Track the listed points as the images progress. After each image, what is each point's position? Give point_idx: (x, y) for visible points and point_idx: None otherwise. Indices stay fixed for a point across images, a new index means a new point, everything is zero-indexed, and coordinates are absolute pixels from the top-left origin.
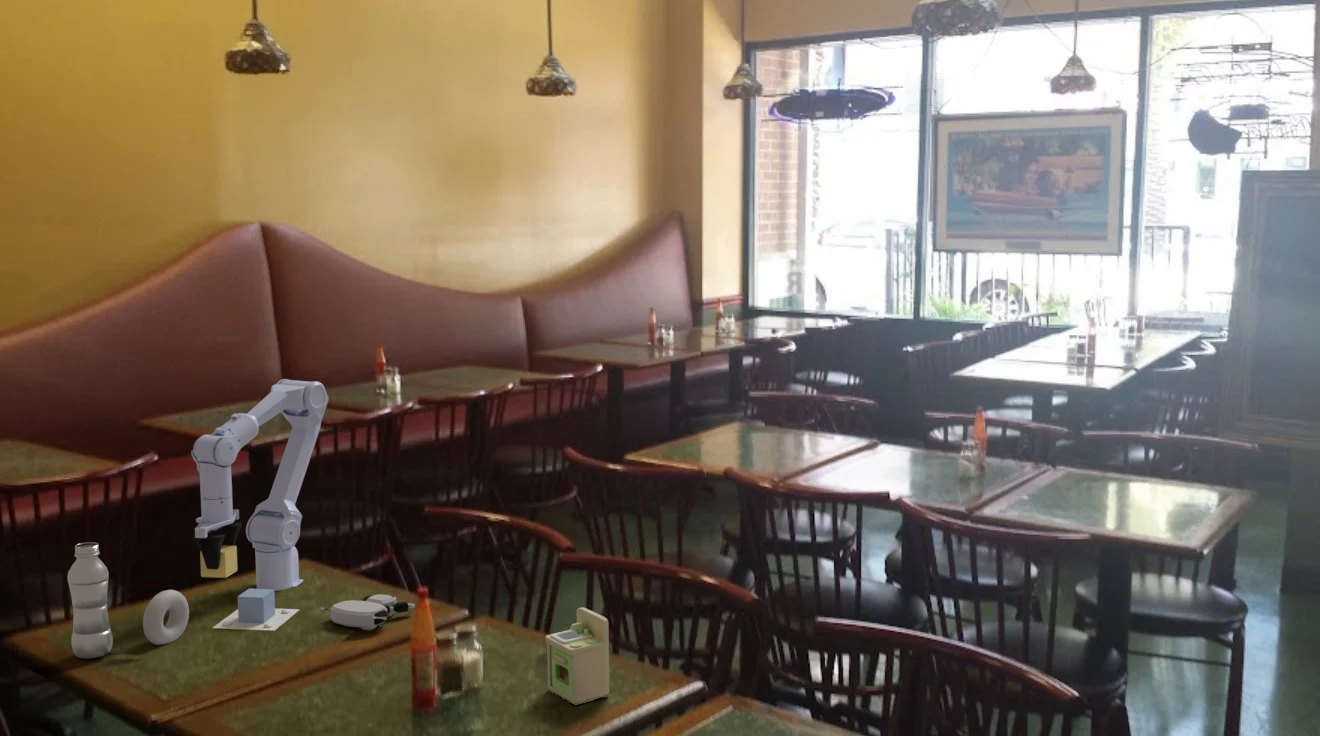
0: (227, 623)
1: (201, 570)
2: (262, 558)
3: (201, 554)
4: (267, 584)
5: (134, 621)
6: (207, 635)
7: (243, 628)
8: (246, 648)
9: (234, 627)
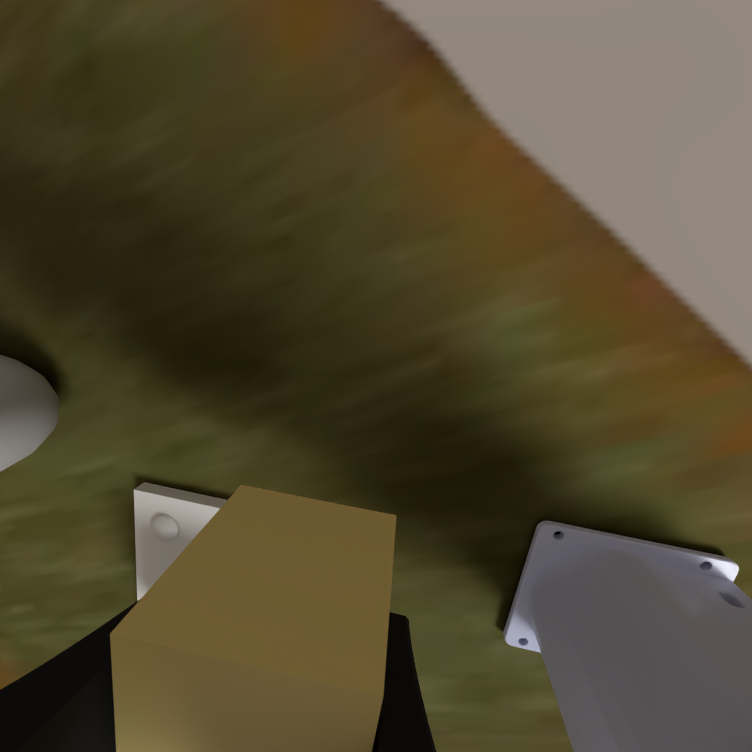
0: (160, 531)
1: (218, 513)
2: (600, 739)
3: (134, 616)
4: (538, 614)
5: (219, 165)
6: (118, 474)
7: (141, 575)
8: (48, 588)
9: (145, 550)
